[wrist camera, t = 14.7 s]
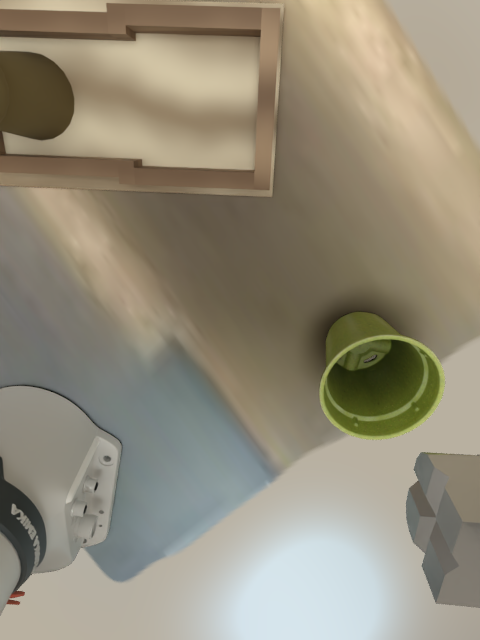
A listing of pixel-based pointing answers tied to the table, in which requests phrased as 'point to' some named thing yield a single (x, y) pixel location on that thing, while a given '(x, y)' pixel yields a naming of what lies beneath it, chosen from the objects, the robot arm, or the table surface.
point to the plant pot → (377, 379)
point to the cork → (34, 96)
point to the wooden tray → (152, 95)
